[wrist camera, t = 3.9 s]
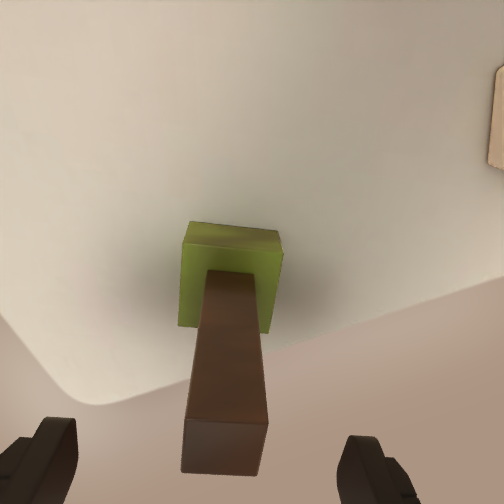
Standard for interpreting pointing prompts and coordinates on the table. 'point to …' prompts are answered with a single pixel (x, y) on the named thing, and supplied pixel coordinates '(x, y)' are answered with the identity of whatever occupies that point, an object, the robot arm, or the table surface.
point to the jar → (497, 124)
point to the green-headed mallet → (227, 344)
